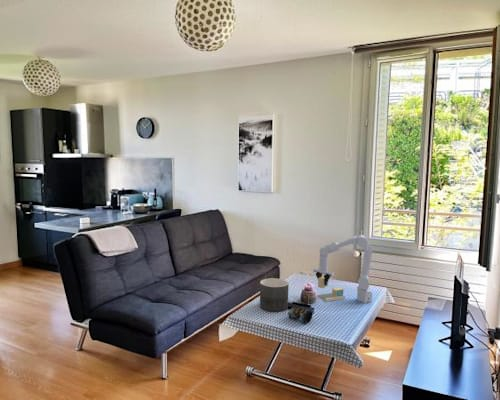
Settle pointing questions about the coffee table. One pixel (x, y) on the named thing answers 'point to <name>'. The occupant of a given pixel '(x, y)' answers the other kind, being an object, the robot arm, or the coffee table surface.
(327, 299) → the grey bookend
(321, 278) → the carton
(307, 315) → the figurine
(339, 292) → the carton faced
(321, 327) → the coffee table surface
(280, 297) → the planter
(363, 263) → the robot arm
